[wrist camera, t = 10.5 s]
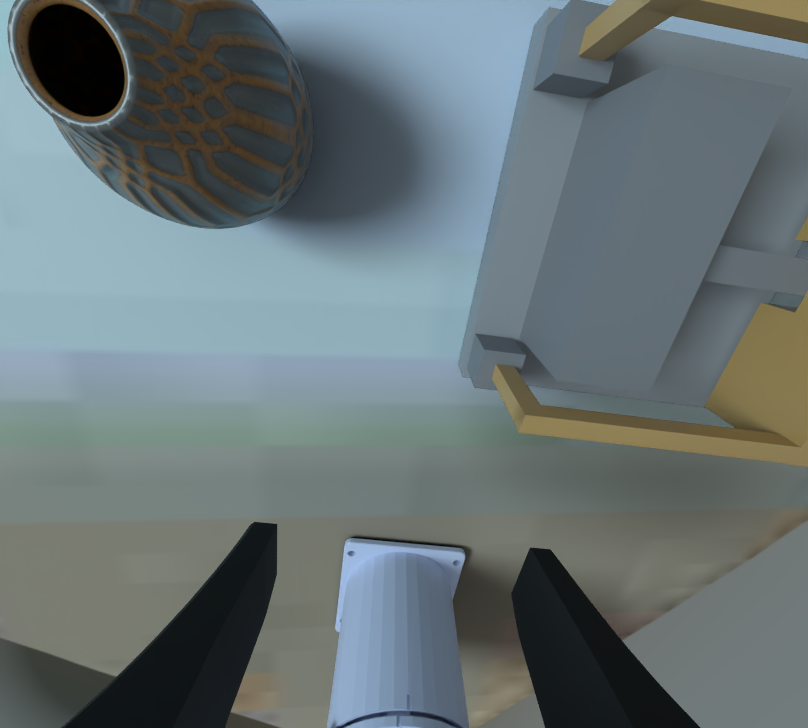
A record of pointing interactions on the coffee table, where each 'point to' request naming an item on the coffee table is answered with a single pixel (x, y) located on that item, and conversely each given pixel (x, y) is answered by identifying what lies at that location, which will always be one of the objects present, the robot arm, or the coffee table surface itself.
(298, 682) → the coffee table surface
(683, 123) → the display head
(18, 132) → the coffee table surface
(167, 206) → the vase
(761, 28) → the tan bracket frame
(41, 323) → the coffee table surface
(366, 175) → the coffee table surface
